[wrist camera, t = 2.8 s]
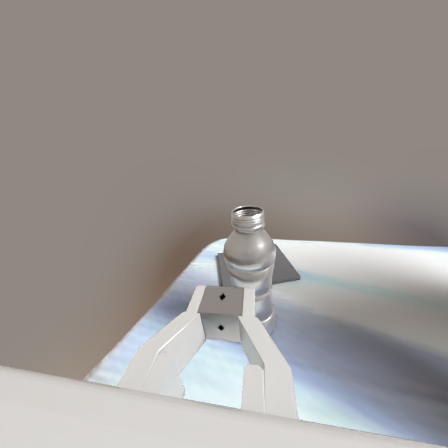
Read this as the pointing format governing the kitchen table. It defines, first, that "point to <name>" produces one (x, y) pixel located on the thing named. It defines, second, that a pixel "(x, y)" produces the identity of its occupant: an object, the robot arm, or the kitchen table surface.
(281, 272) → the mat
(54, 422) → the robot arm
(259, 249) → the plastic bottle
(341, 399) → the kitchen table surface
